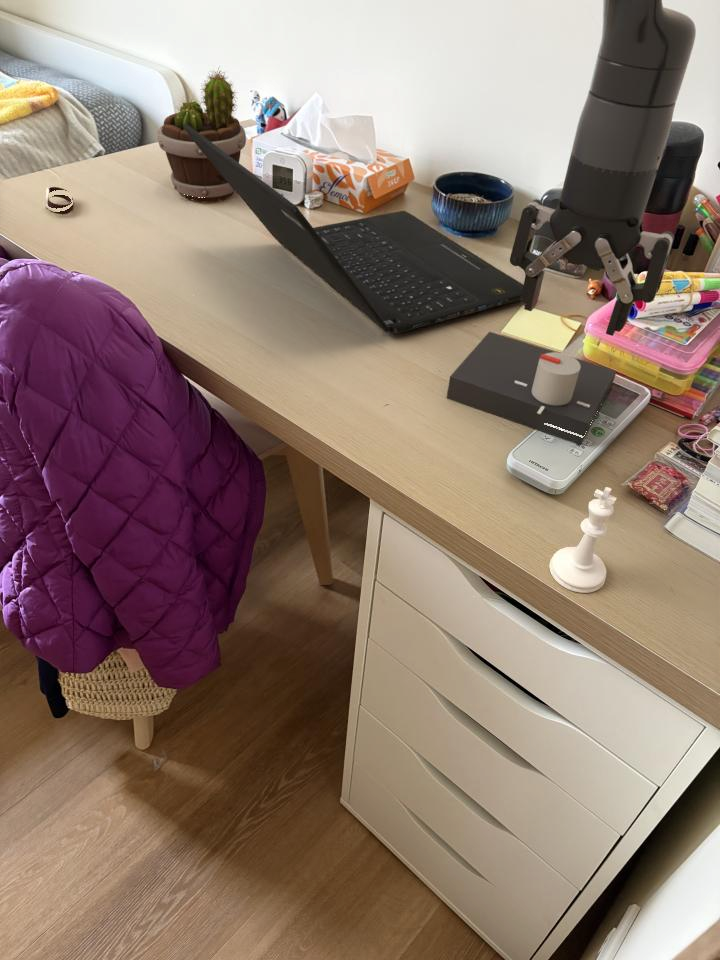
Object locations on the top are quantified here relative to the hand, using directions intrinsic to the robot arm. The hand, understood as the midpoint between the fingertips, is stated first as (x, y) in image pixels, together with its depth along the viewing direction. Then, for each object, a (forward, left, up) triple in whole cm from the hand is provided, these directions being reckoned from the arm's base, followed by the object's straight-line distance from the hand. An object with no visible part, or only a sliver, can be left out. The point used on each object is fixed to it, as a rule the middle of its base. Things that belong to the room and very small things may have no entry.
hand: (570, 319), depth 73 cm
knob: (0, 0, -9) cm, 9 cm away
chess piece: (-10, +21, -13) cm, 26 cm away
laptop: (+34, -17, -13) cm, 40 cm away
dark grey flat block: (+3, -3, -12) cm, 13 cm away
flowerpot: (+73, -31, -13) cm, 80 cm away
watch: (+88, -11, -13) cm, 89 cm away
